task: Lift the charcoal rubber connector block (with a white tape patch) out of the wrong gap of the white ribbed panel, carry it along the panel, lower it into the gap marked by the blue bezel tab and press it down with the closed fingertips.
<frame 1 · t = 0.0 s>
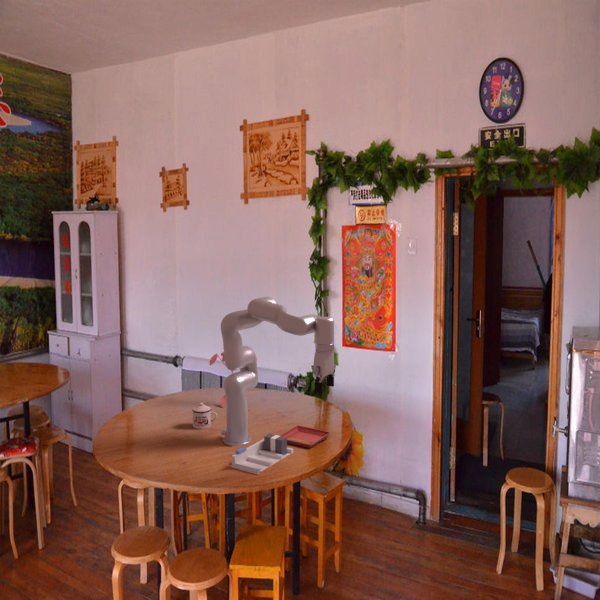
hand: (324, 388, 242), 31 cm above the table, tool pointing down, fingers open, 9 cm apart
white ribbed panel: (263, 459, 249), on the table
teacup with lid: (205, 426, 290), on the table
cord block: (275, 452, 255), point 1 cm above the table, touching white ribbed panel
plant saucer: (304, 441, 271), on the table
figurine: (233, 408, 318), on the table
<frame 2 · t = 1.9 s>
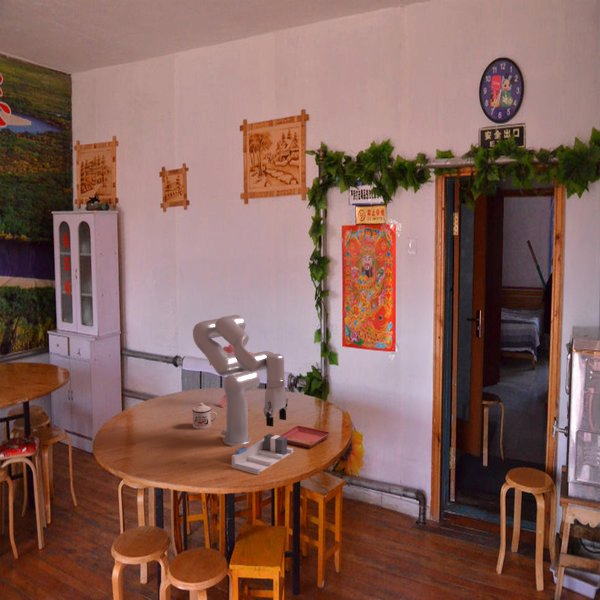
hand: (276, 422, 252), 14 cm above the table, tool pointing down, fingers open, 9 cm apart
nothing on the table moved.
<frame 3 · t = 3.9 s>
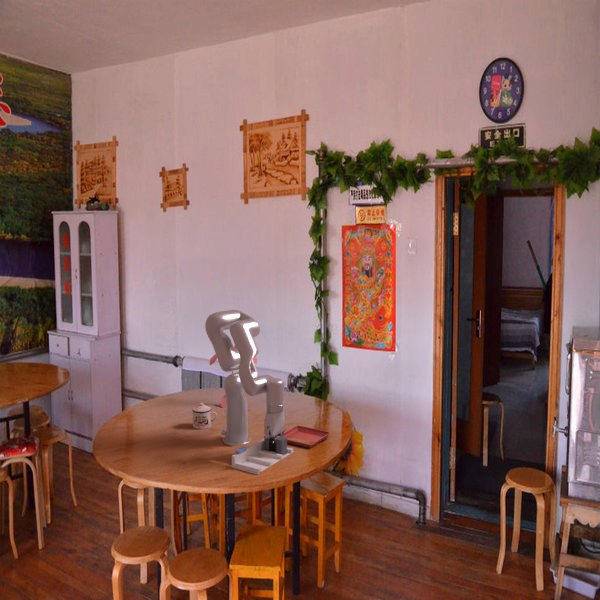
hand: (275, 448, 254), 2 cm above the table, tool pointing down, fingers closed on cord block, 4 cm apart
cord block: (275, 452, 255), point 1 cm above the table, touching white ribbed panel, gripper
everything else where it was.
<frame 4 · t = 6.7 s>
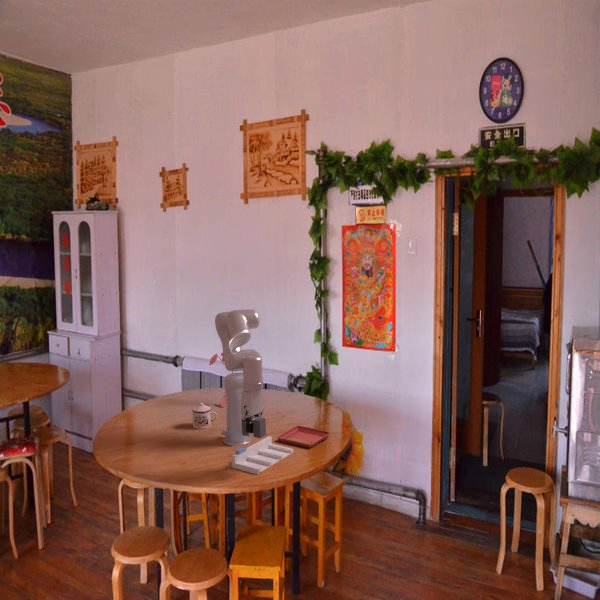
hand: (253, 430, 239), 15 cm above the table, tool pointing down, fingers closed on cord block, 4 cm apart
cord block: (254, 435, 239), point 13 cm above the table, touching gripper
everything else where it was.
when the fingers open (3 cm above the table, at t = 9.5 s): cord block stays where it is, resting on white ribbed panel.
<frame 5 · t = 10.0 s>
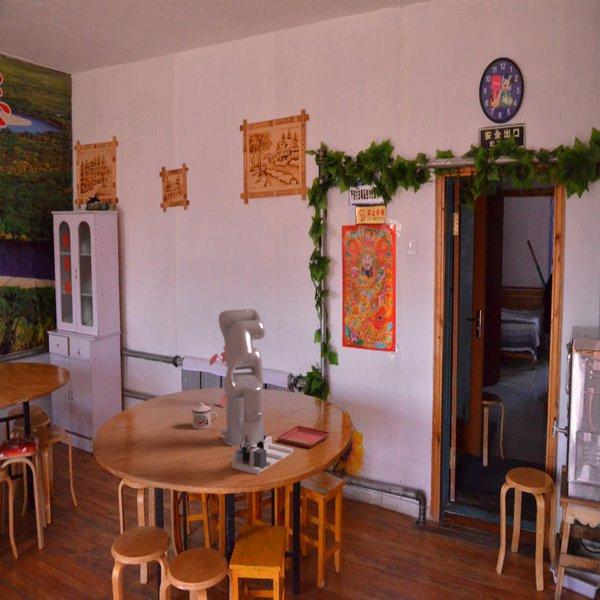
hand: (253, 456, 241), 4 cm above the table, tool pointing down, fingers open, 9 cm apart
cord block: (254, 465, 241), point 1 cm above the table, touching white ribbed panel
everything else where it was.
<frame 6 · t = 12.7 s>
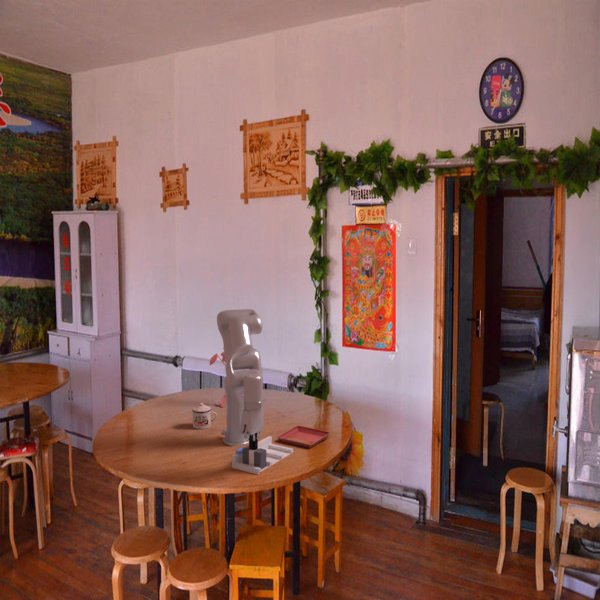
hand: (253, 449, 240), 8 cm above the table, tool pointing down, fingers closed
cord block: (254, 465, 241), point 1 cm above the table, touching white ribbed panel, gripper
everything else where it was.
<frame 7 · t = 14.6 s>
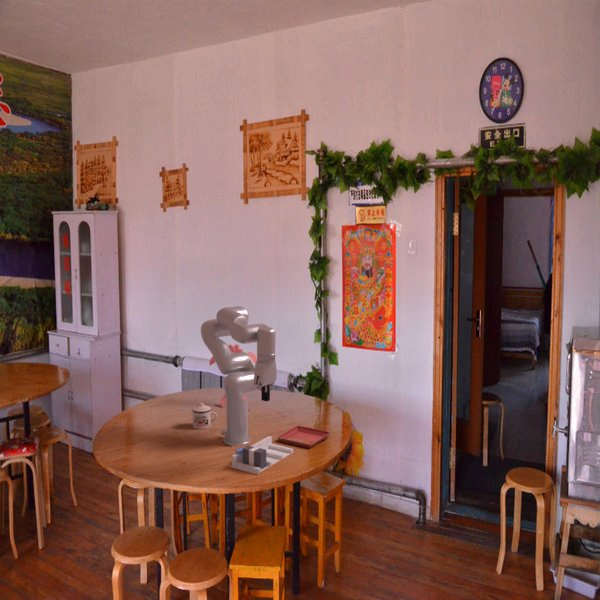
hand: (265, 400, 247), 25 cm above the table, tool pointing down, fingers closed
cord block: (254, 465, 241), point 1 cm above the table, touching white ribbed panel
everything else where it was.
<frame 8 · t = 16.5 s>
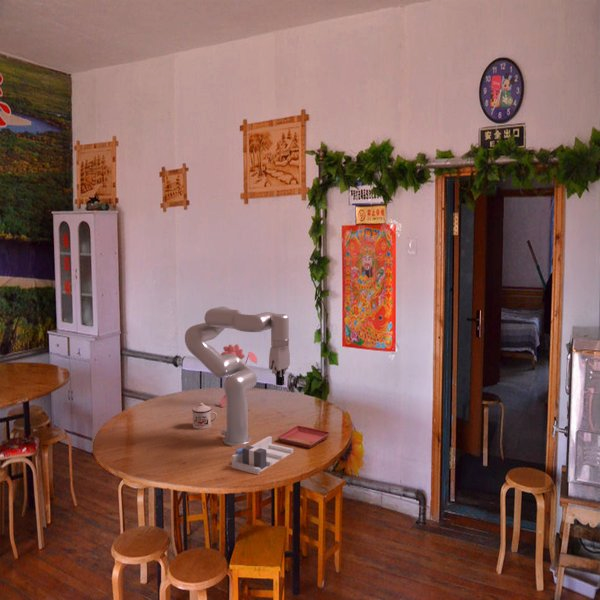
hand: (280, 384, 256), 29 cm above the table, tool pointing down, fingers closed
nothing on the table moved.
at the end: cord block 0.4 cm from the target spot on the white ribbed panel, point 0.5 cm above the white ribbed panel's base; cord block tilted 0°; the gripper is holding nothing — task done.
